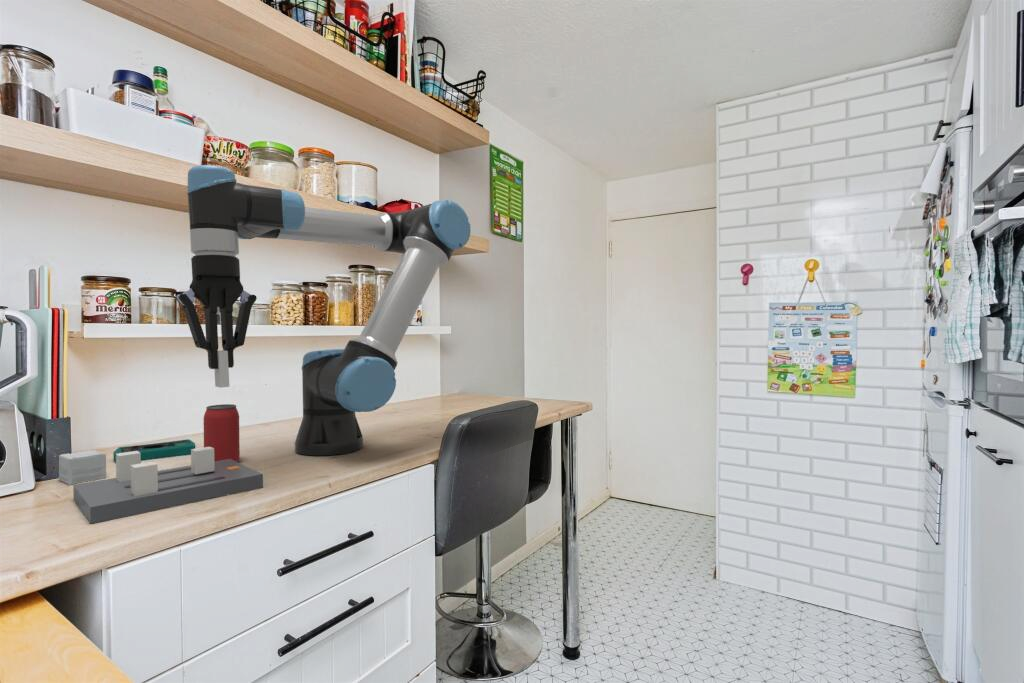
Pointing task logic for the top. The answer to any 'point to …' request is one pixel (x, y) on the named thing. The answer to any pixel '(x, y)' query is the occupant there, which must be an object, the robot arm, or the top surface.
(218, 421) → the beer can
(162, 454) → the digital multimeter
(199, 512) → the top surface
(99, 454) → the small box
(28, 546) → the top surface
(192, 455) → the handle
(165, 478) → the breaker panel
